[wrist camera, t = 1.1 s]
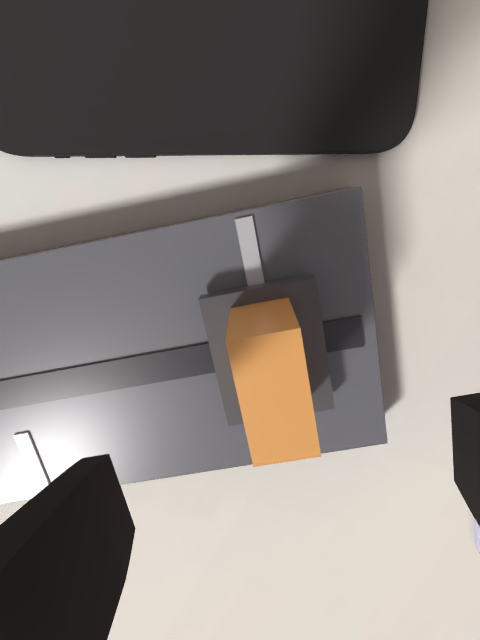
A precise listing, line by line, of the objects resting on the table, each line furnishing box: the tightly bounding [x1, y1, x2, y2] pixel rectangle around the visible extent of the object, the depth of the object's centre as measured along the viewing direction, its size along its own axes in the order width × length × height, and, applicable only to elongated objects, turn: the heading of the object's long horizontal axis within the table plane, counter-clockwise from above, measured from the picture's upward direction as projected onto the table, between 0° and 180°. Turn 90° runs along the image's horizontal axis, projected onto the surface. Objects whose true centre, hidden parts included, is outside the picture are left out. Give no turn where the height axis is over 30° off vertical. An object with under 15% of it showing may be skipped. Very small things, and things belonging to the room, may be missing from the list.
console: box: [0, 187, 387, 504], centre depth 16 cm, size 20×10×2 cm, turn 101°
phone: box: [0, 0, 428, 158], centre depth 13 cm, size 7×1×15 cm
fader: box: [198, 274, 335, 467], centre depth 13 cm, size 4×5×4 cm
